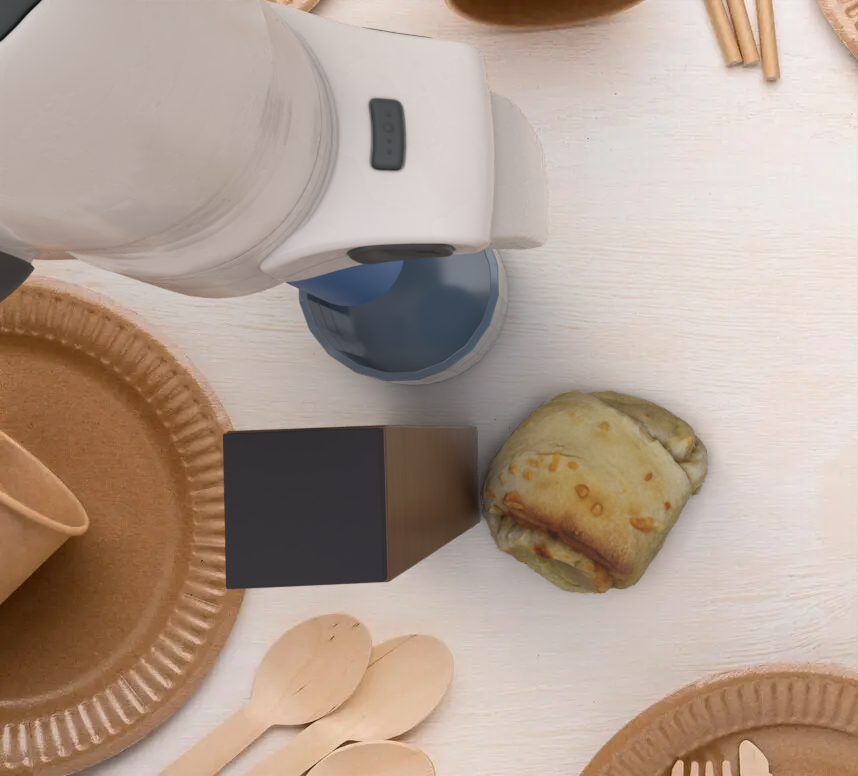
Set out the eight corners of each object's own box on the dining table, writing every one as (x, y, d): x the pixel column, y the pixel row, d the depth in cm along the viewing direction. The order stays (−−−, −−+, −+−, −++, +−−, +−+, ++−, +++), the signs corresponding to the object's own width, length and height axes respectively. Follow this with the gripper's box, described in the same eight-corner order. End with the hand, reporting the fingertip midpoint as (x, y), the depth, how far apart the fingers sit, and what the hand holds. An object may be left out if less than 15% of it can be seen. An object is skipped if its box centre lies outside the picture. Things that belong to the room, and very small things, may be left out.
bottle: (295, 307, 50) (170, 258, 36) (292, 199, 51) (167, 107, 36) (406, 304, 51) (325, 254, 36) (403, 197, 51) (321, 105, 37)
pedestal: (382, 527, 66) (228, 589, 40) (380, 431, 66) (225, 430, 40) (480, 523, 66) (390, 582, 40) (477, 427, 66) (385, 425, 40)
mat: (231, 587, 40) (225, 589, 39) (227, 433, 40) (221, 433, 39) (387, 579, 40) (384, 582, 40) (383, 427, 40) (379, 427, 40)
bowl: (327, 388, 66) (300, 384, 60) (322, 206, 66) (295, 186, 61) (511, 381, 67) (501, 377, 61) (505, 202, 67) (495, 182, 62)
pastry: (484, 592, 66) (466, 614, 58) (481, 393, 66) (462, 388, 58) (709, 584, 67) (721, 605, 59) (703, 388, 67) (715, 382, 59)
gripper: (-162, 260, 31) (75, 312, 45) (536, 243, 33) (558, 299, 46) (-163, 49, 31) (72, 166, 45) (530, 42, 33) (553, 157, 47)
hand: (323, 233), depth 46 cm, fingers closed on bottle, 5 cm apart
